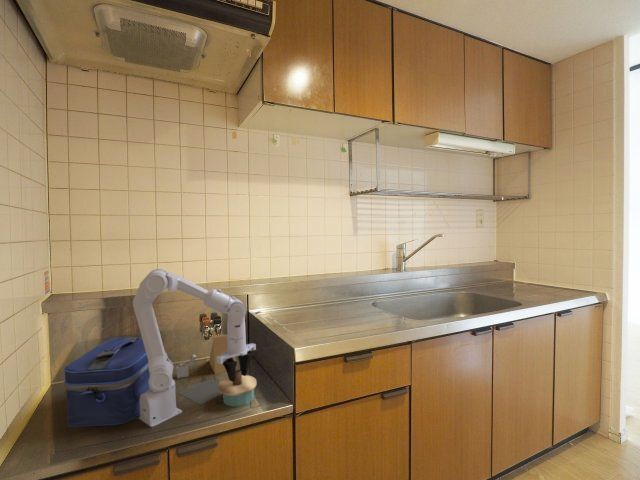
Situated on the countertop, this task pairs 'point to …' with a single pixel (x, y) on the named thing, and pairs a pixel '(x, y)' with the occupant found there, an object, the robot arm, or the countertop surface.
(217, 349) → the sandwich container
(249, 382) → the lid
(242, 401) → the bowl
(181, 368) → the lighter
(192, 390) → the mat
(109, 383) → the lunch bag
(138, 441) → the countertop surface
